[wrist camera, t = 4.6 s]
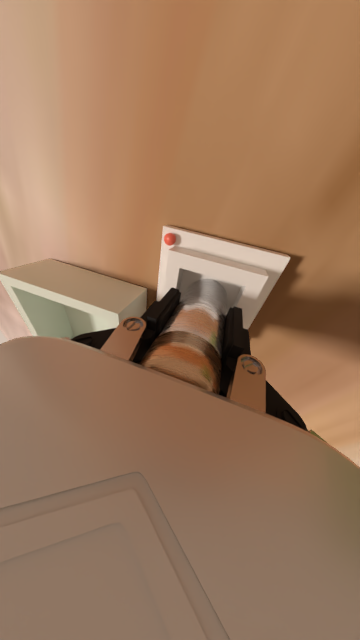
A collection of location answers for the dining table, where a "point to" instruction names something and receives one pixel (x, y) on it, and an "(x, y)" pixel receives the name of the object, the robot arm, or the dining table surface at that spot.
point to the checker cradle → (219, 268)
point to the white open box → (70, 298)
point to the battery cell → (193, 338)
